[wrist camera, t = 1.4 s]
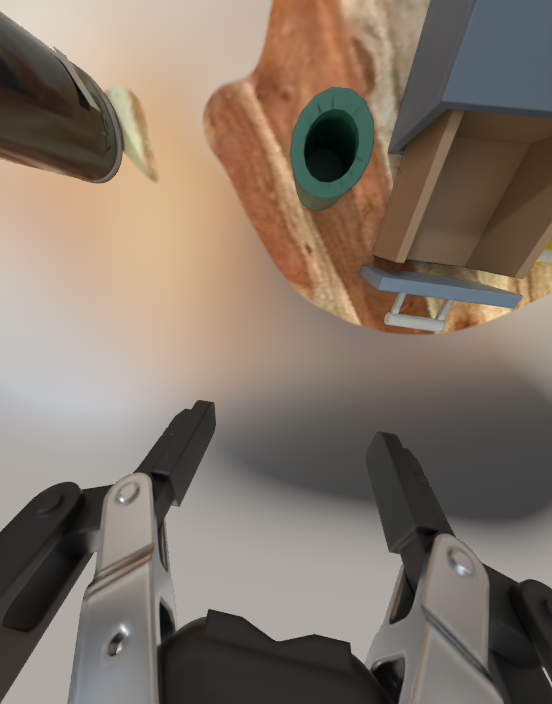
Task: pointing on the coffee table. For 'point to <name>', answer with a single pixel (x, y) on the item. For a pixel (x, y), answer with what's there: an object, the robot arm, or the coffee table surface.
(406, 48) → the coffee table surface
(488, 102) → the cabinet
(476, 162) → the drawer
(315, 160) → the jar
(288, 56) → the coffee table surface
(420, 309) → the coffee table surface
